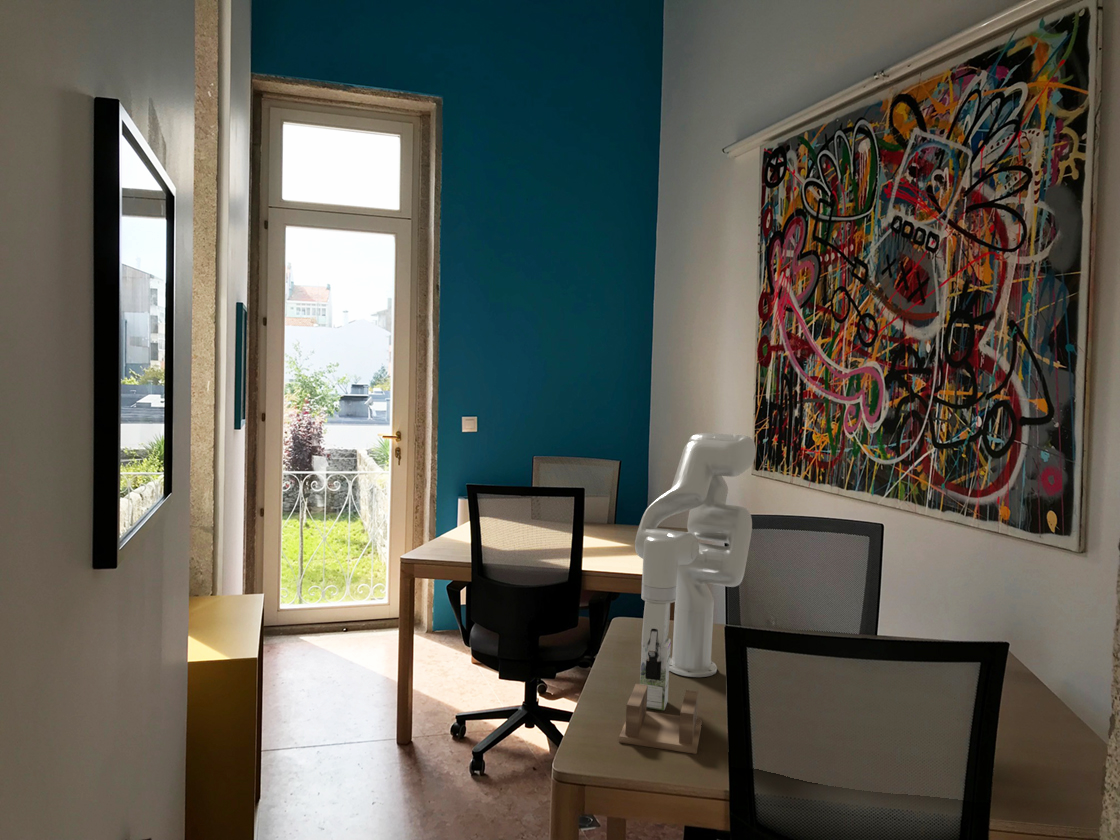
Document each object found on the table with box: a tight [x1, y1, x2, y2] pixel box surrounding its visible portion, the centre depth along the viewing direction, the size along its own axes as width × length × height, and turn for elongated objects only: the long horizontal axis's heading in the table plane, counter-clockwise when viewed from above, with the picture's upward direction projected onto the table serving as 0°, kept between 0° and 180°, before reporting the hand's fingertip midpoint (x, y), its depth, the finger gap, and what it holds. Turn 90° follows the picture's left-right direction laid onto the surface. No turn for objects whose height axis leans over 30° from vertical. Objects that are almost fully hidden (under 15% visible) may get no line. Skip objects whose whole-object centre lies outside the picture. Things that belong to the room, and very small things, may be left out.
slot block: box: [618, 683, 703, 755], centre depth 163 cm, size 14×15×7 cm
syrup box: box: [639, 637, 672, 711], centre depth 178 cm, size 6×6×14 cm
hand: (654, 672), depth 178 cm, fingers closed on syrup box, 5 cm apart
